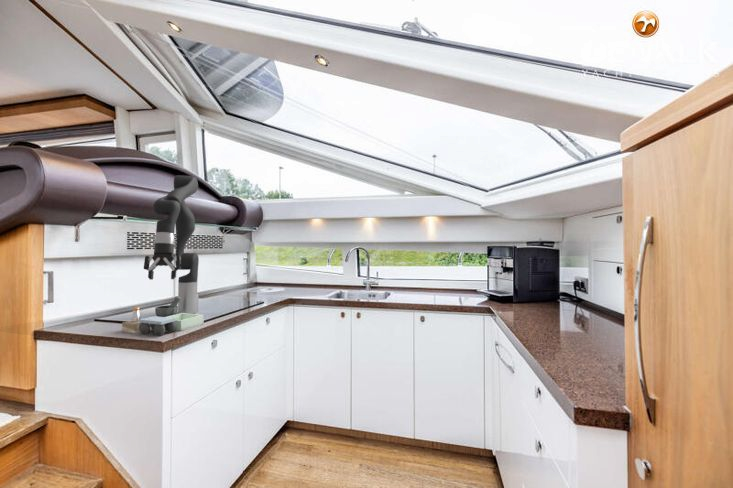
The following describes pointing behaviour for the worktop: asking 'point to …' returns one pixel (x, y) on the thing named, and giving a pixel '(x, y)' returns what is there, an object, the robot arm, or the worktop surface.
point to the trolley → (157, 325)
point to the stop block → (131, 327)
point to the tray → (187, 321)
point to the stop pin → (136, 314)
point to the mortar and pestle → (168, 308)
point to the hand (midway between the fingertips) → (161, 279)
